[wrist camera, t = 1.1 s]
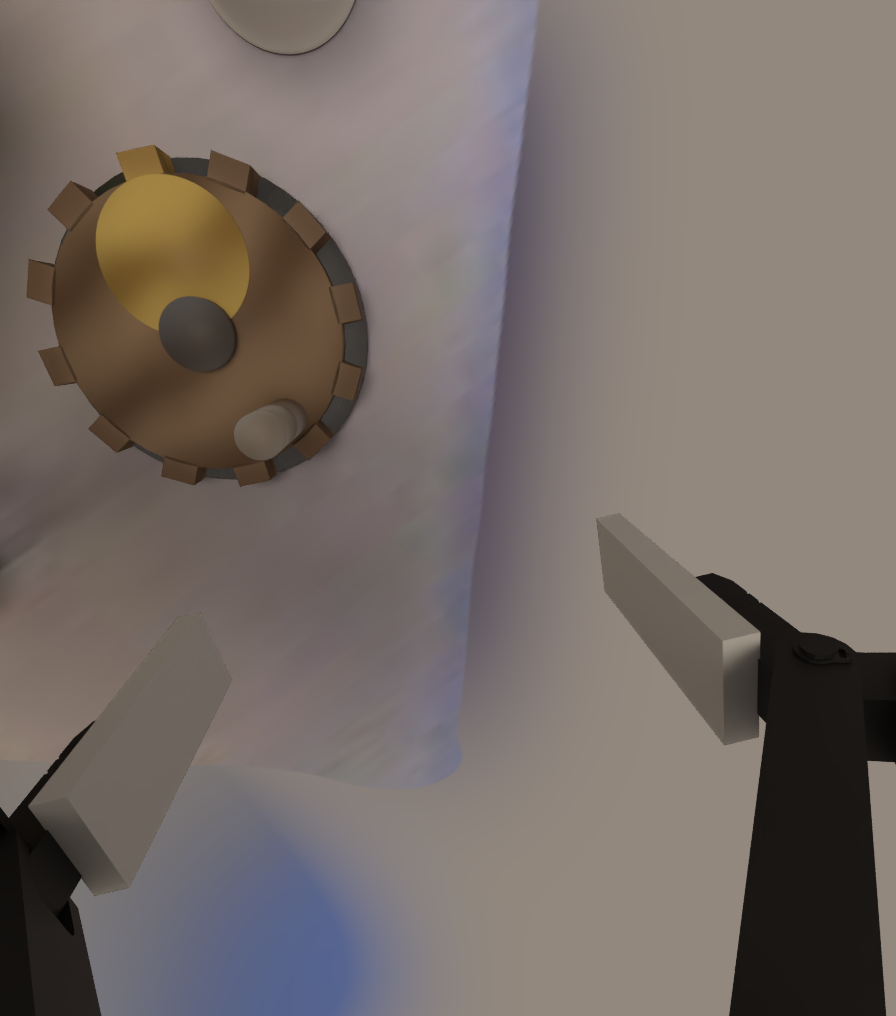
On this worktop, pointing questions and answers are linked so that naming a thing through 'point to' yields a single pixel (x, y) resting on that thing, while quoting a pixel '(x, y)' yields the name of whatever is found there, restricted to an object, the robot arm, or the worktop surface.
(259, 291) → the sprocket
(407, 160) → the worktop surface
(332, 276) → the base plate
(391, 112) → the worktop surface
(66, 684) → the worktop surface
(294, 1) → the mug
